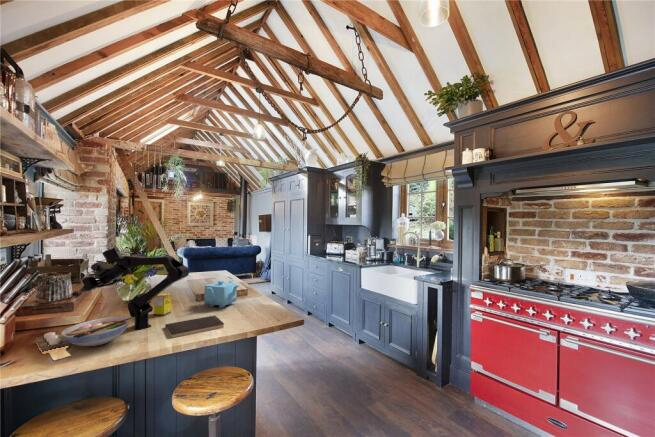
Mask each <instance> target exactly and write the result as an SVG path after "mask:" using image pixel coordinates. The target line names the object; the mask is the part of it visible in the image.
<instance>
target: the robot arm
mask: <svg viewBox="0 0 655 437" xmlns="http://www.w3.org/2000/svg"><path fill="white" fill-rule="evenodd" d="M102 255H103V258H104V259H105V261H106V262H107V263H105V262H104V261H97V262H94V263H93V264H91V266H90V270H92V271H93V272H96V273H97V274H96V275H97V277H98V279H96V278H95V276H93V275H89V276H88V275H87V276H85V277H83V278H82V279H81V282H82V284H83V286H82V287H81V289H80V290H79V291H80V293H86V292H89V291H93V290H96V289H99V288H104V287H108V286H112V285H116V284H119V283H120V282H122V281H123V278H122V275H124V276H128V275H131V274H132V269H131V268H135V267H139V266H140V267H141V266H154V265H155V266H157V265H159V266H160V265H163V266H164V268H165V270H166V272H167V275H166V277H165V278H164V279H163V280H161V281H160V282H158V283H157V284H156V285H155V286H153V287H152V288H150V290H148V291H147V292H142V293H140V294H136V295H135V296H134V297H133V298H132V299H129V302H128V303H127V309H128V312H129V316H130V318H131V317H134V319H133V320H134V324H133V325H131V328H132V329H133V330H135V331H138V330H142V329H146V328H150V327H152V325H151V324H150V323H149V318H150V317H149V316H150V315H149V313H152V312H153V311H154V306H152V304H151V303H152V300H154V298H155V297H156V296H157V295H159V294H160V293H163V292H164V291H165V290H166V289H167V288H169V287H170V286H171V285H173V284H174V283H176V282H179V281H181V280H183V279H185V278H187V277H188V276H190V270H189V267H188V266H186V265H184V264H183V262H181V261H179V260H177V259H175V257H173V256H172V255H167V256H143V255H140V254H131V255H125V256H124V255H122V253H121V252H120V249H119V247H116V246H115V247H112V248H110V249H108V250H105V251H104V252H102ZM109 265H111V267H110V266H109ZM135 316H137V317H135Z"/></svg>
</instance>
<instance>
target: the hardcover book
mask: <svg viewBox="0 0 655 437" xmlns="http://www.w3.org/2000/svg"><path fill="white" fill-rule="evenodd" d="M224 325H225V323H224V322H223V321H222V320H221V319H220V318H219V317H218V316H216V315H210V316H205V317H197V318H192V319H187V320H181V321H176V322H169V323H165V325H164V327H165V328H166V330H167V332H168V334H169V336H170V338H172V339H173V338H176V337H183V336H188V335H191V334H197V333H200V332H206V331H207V332H208V331H211V330H216V329H220V328H224Z"/></svg>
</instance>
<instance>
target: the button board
mask: <svg viewBox="0 0 655 437" xmlns="http://www.w3.org/2000/svg"><path fill="white" fill-rule="evenodd" d="M55 335H58V338H61V344H56V345H52V346H48V345H49V342H48V343H46V342H47V339H45V340H44V335H41V336H38V337H37V336H36V337H34V341H35V340H36V342H37V343H38V345H39V347H40V348H41V350H42V352H44V351H48V350H52V349H56V348H61V347H65V346H69V345H70V346H71V343H70V342H69V341H67V340H66V339H65V338H64V337H63V336H62V331H61V332H55Z"/></svg>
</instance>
